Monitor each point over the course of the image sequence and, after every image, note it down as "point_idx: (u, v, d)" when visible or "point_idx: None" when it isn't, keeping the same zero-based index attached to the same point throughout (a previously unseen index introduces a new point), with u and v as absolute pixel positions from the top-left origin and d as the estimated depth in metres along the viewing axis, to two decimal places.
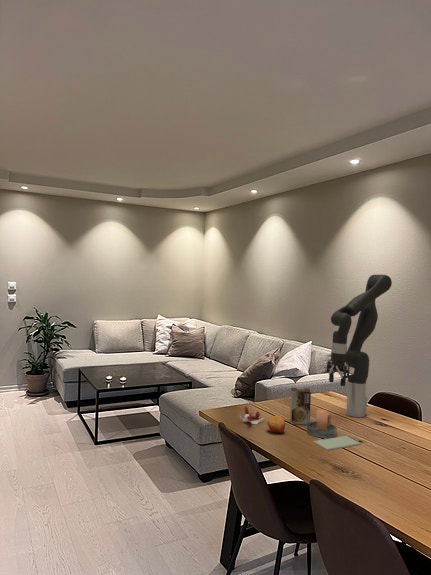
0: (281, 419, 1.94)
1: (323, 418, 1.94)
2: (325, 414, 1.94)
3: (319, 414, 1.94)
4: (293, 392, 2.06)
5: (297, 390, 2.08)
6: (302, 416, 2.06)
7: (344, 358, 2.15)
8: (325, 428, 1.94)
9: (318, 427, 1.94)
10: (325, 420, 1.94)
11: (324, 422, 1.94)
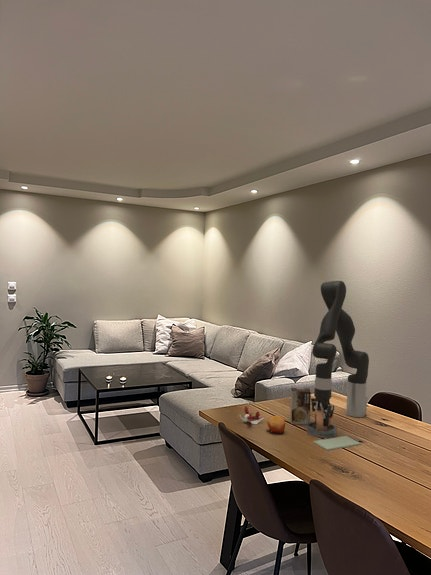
0: (281, 419, 1.94)
1: None
2: None
3: (319, 414, 1.94)
4: (293, 392, 2.06)
5: (297, 390, 2.08)
6: (302, 416, 2.06)
7: (329, 394, 1.93)
8: (325, 428, 1.94)
9: (318, 427, 1.94)
10: None
11: None
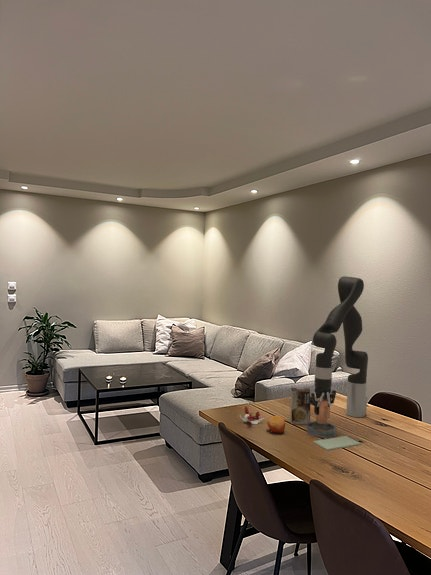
0: (281, 419, 1.94)
1: None
2: None
3: None
4: (293, 392, 2.06)
5: (297, 390, 2.08)
6: (302, 416, 2.06)
7: (317, 383, 1.94)
8: (317, 417, 1.95)
9: None
10: None
11: None
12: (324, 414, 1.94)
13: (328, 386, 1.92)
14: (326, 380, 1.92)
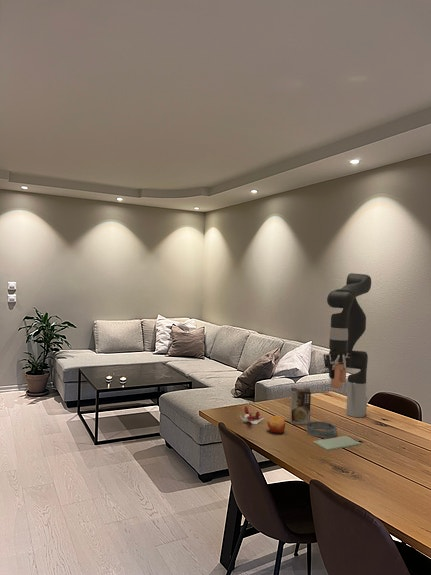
0: (281, 419, 1.94)
1: None
2: None
3: None
4: (293, 392, 2.06)
5: (297, 390, 2.08)
6: (302, 416, 2.06)
7: (332, 344, 1.82)
8: (332, 381, 1.83)
9: None
10: None
11: None
12: (340, 378, 1.82)
13: (344, 348, 1.81)
14: (342, 341, 1.80)
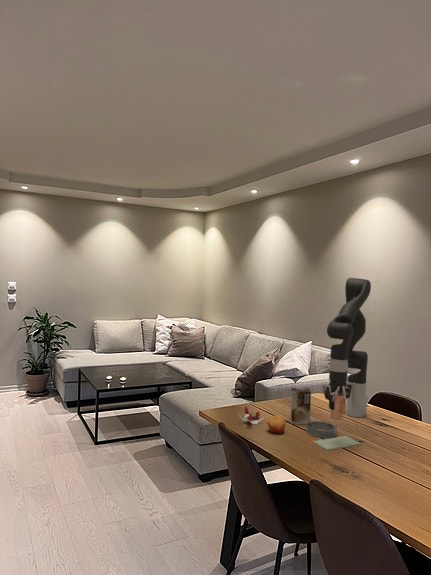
0: (281, 419, 1.94)
1: None
2: None
3: None
4: (293, 392, 2.06)
5: (297, 390, 2.08)
6: (302, 416, 2.06)
7: (332, 376, 1.82)
8: (332, 412, 1.83)
9: None
10: None
11: None
12: (339, 409, 1.82)
13: (344, 379, 1.80)
14: (342, 373, 1.80)
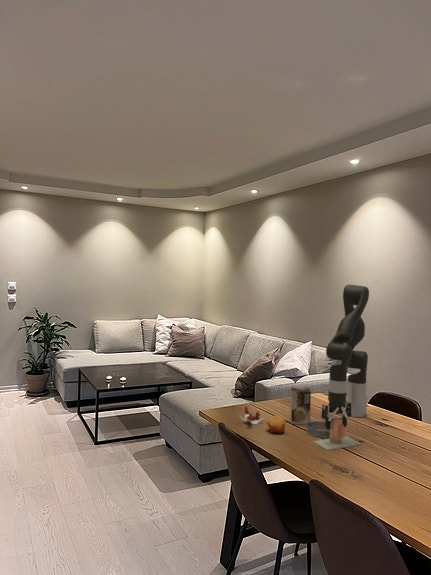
0: (281, 419, 1.94)
1: None
2: (331, 420, 1.83)
3: None
4: (293, 392, 2.06)
5: (297, 390, 2.08)
6: (302, 416, 2.06)
7: (331, 397, 1.82)
8: (331, 436, 1.83)
9: None
10: (331, 427, 1.83)
11: (330, 428, 1.84)
12: (338, 433, 1.82)
13: (343, 400, 1.81)
14: (341, 394, 1.80)
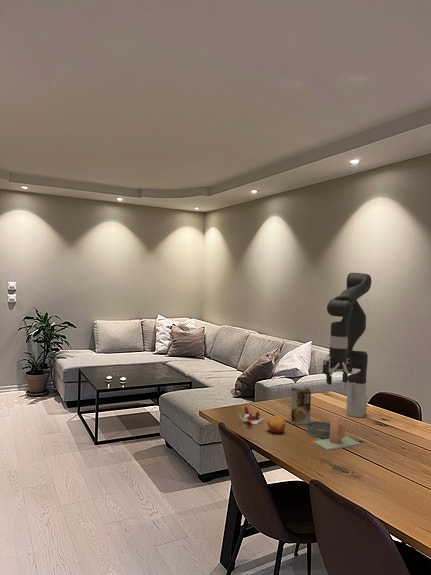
0: (281, 419, 1.94)
1: (330, 424, 1.84)
2: (331, 420, 1.83)
3: None
4: (293, 392, 2.06)
5: (297, 390, 2.08)
6: (302, 416, 2.06)
7: (332, 353, 1.85)
8: (331, 436, 1.83)
9: None
10: (331, 427, 1.83)
11: (330, 428, 1.84)
12: (338, 433, 1.82)
13: (344, 356, 1.84)
14: (342, 349, 1.83)
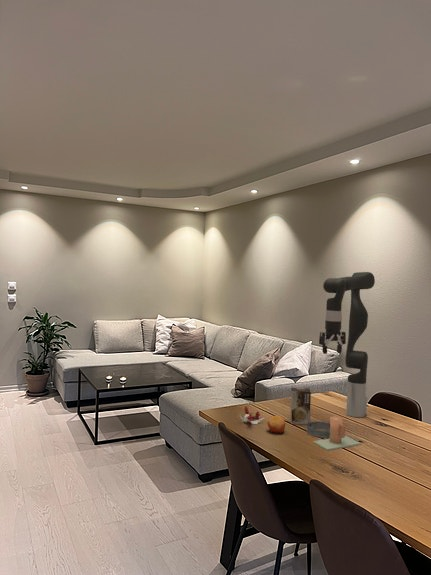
0: (281, 419, 1.94)
1: (330, 424, 1.84)
2: (331, 420, 1.83)
3: None
4: (293, 392, 2.06)
5: (297, 390, 2.08)
6: (302, 416, 2.06)
7: (327, 325, 2.06)
8: (331, 436, 1.83)
9: None
10: (331, 427, 1.83)
11: (330, 428, 1.84)
12: (338, 433, 1.82)
13: (338, 328, 2.05)
14: (336, 322, 2.05)
